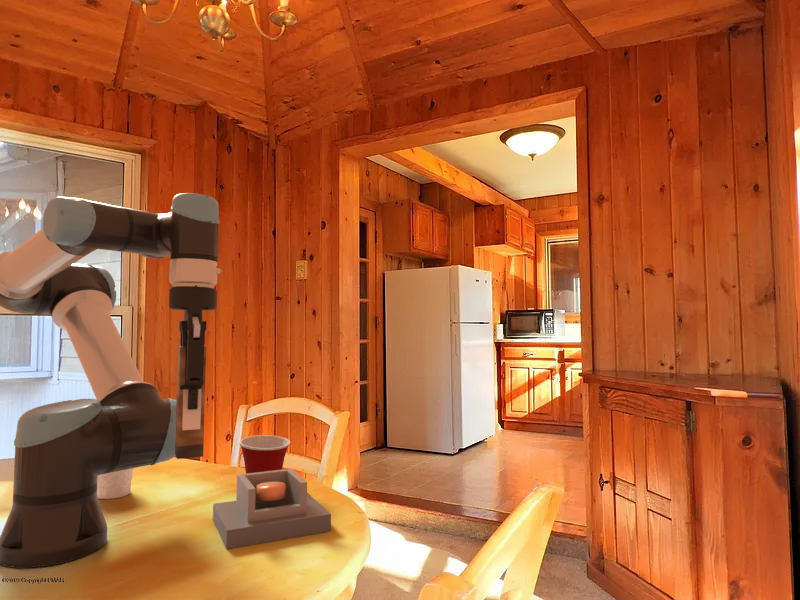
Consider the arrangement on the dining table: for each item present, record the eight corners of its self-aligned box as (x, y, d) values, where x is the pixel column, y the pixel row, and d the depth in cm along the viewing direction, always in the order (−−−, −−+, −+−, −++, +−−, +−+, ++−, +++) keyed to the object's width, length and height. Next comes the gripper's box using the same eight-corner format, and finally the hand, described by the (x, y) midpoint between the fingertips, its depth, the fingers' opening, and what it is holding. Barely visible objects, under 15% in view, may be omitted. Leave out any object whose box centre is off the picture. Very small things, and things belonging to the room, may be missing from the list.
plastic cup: (256, 507, 108) (258, 447, 109) (227, 496, 115) (229, 439, 116) (299, 495, 116) (300, 439, 117) (270, 485, 123) (271, 432, 124)
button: (259, 502, 95) (260, 491, 95) (253, 494, 100) (253, 483, 100) (288, 498, 97) (288, 487, 98) (281, 490, 102) (281, 480, 102)
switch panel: (226, 549, 88) (227, 496, 88) (212, 519, 101) (214, 474, 101) (330, 531, 96) (331, 482, 96) (305, 506, 109) (306, 463, 110)
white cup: (140, 489, 119) (142, 444, 120) (118, 501, 111) (120, 452, 112) (107, 488, 120) (109, 443, 121) (83, 499, 112) (85, 451, 113)
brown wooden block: (176, 459, 86) (180, 346, 87) (175, 453, 90) (178, 346, 91) (203, 456, 88) (206, 346, 89) (200, 451, 92) (203, 345, 93)
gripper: (224, 283, 85) (221, 434, 83) (210, 290, 100) (207, 417, 98) (173, 281, 81) (168, 438, 80) (166, 289, 96) (162, 420, 95)
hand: (189, 426), depth 89 cm, fingers closed on brown wooden block, 4 cm apart
